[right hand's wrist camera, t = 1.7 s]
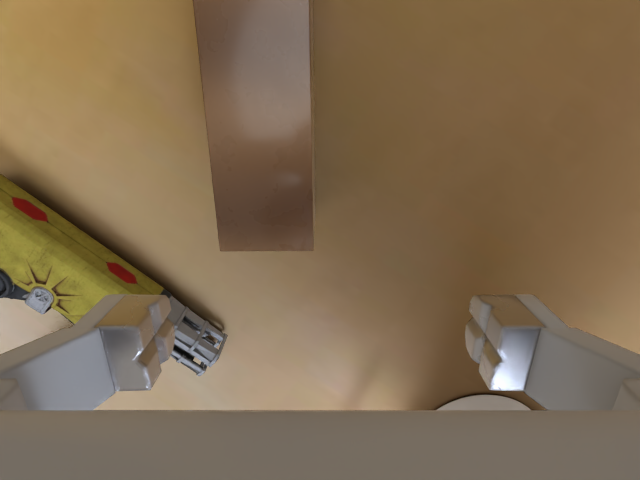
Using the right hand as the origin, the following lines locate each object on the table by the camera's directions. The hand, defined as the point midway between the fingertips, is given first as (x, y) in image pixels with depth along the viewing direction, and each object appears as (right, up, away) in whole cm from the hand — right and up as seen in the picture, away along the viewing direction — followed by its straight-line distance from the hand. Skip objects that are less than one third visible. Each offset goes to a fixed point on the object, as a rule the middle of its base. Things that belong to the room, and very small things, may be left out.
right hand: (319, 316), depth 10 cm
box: (-4, +16, +18) cm, 25 cm away
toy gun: (-23, -4, +26) cm, 35 cm away
